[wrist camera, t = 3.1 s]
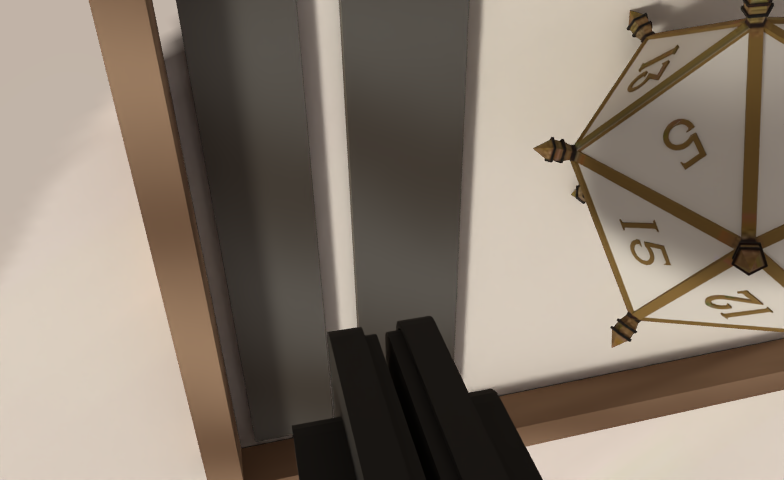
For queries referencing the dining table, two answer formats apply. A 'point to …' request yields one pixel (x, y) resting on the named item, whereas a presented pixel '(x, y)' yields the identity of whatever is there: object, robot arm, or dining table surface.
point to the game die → (691, 174)
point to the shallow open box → (298, 225)
